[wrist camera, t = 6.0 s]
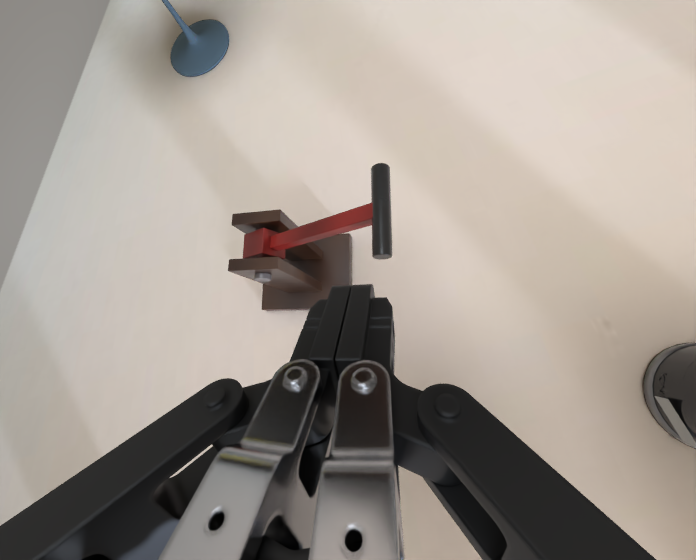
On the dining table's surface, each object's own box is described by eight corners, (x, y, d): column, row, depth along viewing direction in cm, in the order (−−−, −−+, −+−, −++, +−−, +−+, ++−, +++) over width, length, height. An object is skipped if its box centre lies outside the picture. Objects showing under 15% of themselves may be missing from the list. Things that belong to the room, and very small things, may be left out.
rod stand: (351, 236, 37) (319, 182, 24) (351, 308, 35) (316, 292, 22) (270, 242, 39) (200, 196, 26) (266, 310, 37) (190, 296, 24)
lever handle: (397, 173, 20) (378, 155, 18) (400, 259, 19) (380, 250, 17) (267, 222, 28) (245, 214, 26) (264, 283, 27) (240, 280, 25)
